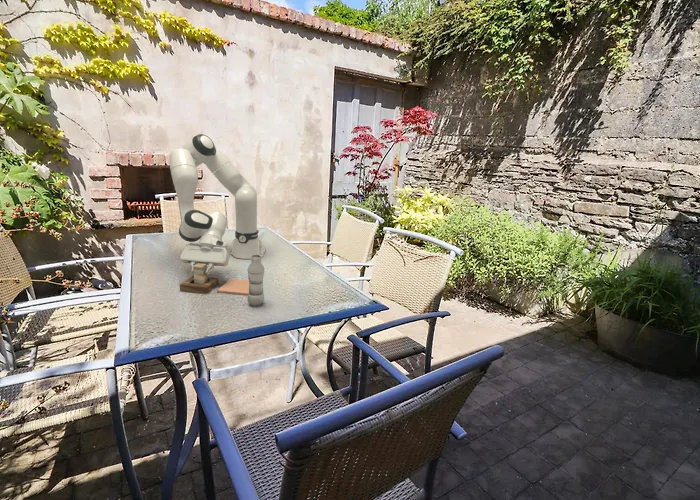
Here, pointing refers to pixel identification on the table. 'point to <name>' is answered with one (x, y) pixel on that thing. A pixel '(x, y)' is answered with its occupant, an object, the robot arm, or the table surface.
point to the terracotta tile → (235, 287)
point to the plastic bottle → (255, 281)
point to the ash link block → (200, 273)
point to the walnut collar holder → (199, 285)
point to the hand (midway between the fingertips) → (199, 272)
